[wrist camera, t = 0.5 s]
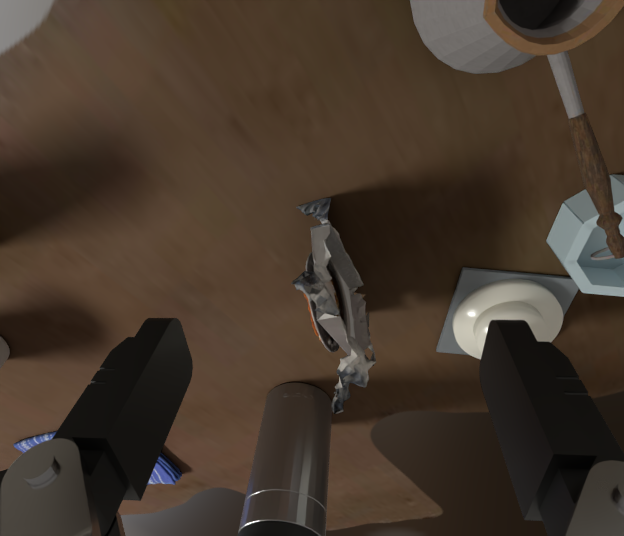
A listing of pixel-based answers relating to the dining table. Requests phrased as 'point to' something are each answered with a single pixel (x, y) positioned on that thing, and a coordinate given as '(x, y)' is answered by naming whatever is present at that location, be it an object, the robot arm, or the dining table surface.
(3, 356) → the coffee cup
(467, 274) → the mat
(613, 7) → the coffee pot
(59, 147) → the dining table surface
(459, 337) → the lid
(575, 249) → the bowl
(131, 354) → the robot arm
